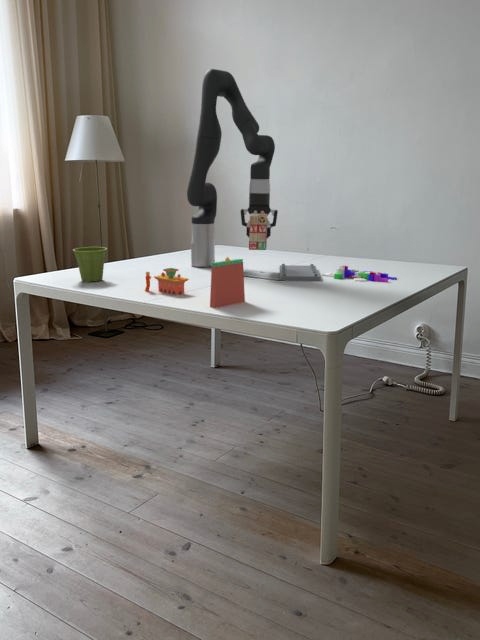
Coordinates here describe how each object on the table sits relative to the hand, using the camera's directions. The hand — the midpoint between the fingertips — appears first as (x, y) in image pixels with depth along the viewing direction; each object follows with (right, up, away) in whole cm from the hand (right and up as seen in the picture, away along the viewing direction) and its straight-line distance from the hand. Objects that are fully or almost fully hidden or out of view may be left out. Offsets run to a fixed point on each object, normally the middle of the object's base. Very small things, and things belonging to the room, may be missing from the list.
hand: (258, 237), depth 234 cm
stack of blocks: (0, -3, +1) cm, 4 cm away
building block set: (+38, -15, -1) cm, 41 cm away
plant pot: (-60, -17, -11) cm, 63 cm away
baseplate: (+15, -14, +2) cm, 21 cm away
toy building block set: (-22, -24, -38) cm, 50 cm away
